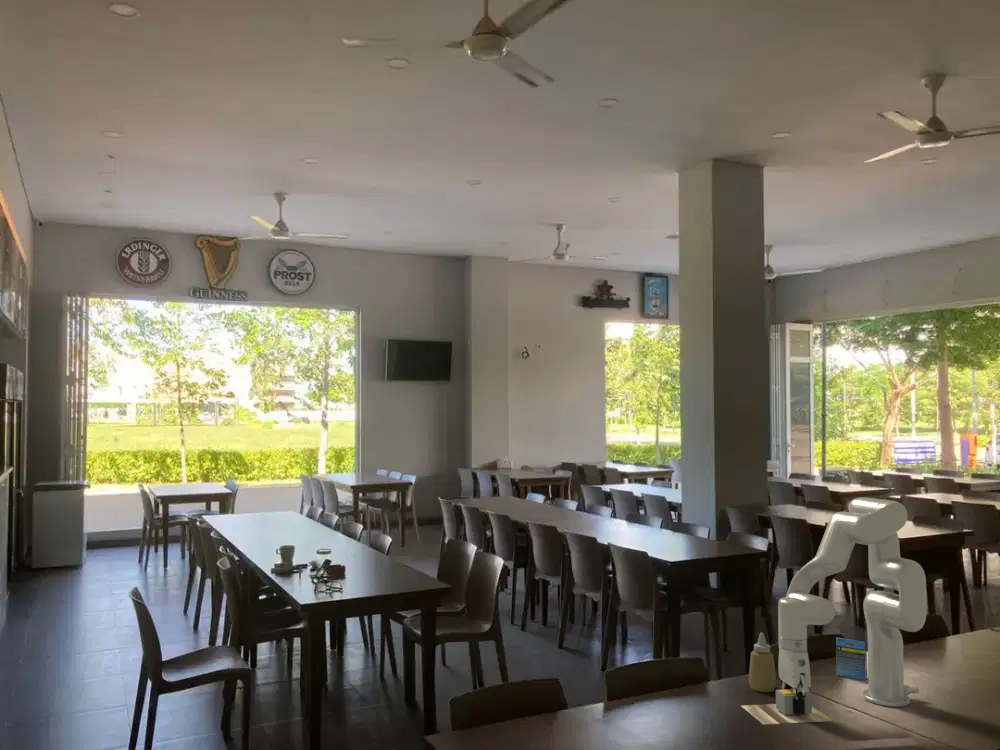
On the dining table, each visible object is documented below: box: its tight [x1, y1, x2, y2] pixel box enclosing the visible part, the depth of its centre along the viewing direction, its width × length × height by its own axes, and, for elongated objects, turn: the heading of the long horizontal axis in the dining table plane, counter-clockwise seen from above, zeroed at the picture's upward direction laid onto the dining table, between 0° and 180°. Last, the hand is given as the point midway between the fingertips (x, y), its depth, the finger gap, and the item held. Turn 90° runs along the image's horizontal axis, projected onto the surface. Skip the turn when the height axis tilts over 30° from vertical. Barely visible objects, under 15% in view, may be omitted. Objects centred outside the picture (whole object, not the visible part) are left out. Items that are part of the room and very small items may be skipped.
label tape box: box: [835, 637, 868, 681], centre depth 260 cm, size 9×4×12 cm, turn 57°
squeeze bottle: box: [748, 632, 777, 693], centre depth 244 cm, size 8×8×18 cm
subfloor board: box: [740, 703, 833, 726], centre depth 224 cm, size 20×14×2 cm
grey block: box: [775, 689, 813, 715], centre depth 224 cm, size 8×5×5 cm, turn 98°
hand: (793, 708), depth 224 cm, fingers closed on grey block, 5 cm apart
